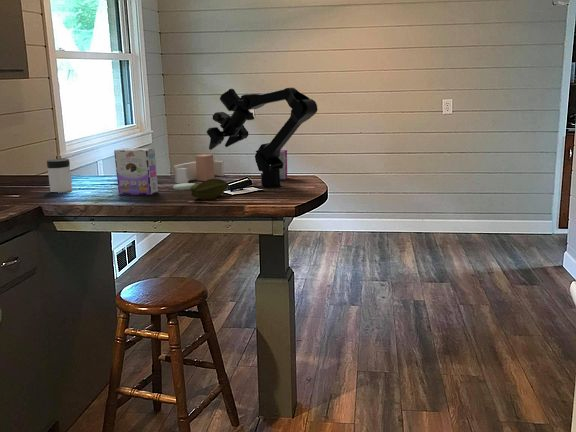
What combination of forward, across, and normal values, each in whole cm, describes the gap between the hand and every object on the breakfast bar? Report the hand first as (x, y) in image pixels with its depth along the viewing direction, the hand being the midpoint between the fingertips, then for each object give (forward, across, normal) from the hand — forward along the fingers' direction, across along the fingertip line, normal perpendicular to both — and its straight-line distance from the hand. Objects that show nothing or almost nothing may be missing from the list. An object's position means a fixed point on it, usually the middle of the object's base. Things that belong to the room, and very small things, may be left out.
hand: (217, 147), depth 247 cm
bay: (+17, 0, +2) cm, 17 cm away
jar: (+40, +43, -21) cm, 62 cm away
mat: (+11, +17, +8) cm, 22 cm away
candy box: (+17, +33, +2) cm, 37 cm away
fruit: (-5, +27, +24) cm, 37 cm away
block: (+15, 0, +4) cm, 16 cm away
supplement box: (-4, -14, +23) cm, 27 cm away
